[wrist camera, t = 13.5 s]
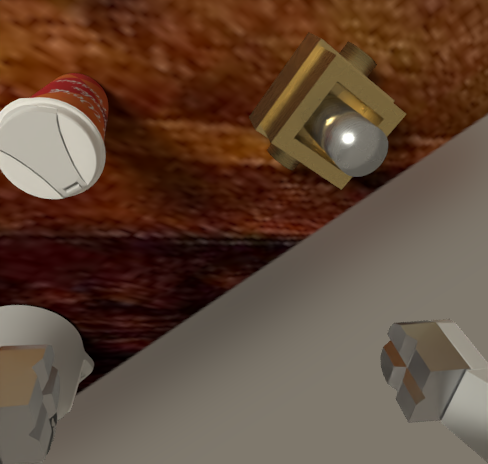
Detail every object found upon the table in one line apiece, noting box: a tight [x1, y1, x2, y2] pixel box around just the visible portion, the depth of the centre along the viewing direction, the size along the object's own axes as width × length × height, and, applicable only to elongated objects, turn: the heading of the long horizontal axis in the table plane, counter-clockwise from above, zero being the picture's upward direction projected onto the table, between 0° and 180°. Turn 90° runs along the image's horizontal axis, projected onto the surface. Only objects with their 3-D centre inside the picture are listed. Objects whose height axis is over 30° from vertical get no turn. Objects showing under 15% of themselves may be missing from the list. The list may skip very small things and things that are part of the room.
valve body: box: [249, 33, 406, 190], centre depth 43 cm, size 13×10×8 cm
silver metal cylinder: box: [304, 95, 388, 177], centre depth 39 cm, size 4×4×9 cm
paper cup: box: [0, 73, 109, 199], centre depth 36 cm, size 8×8×14 cm
